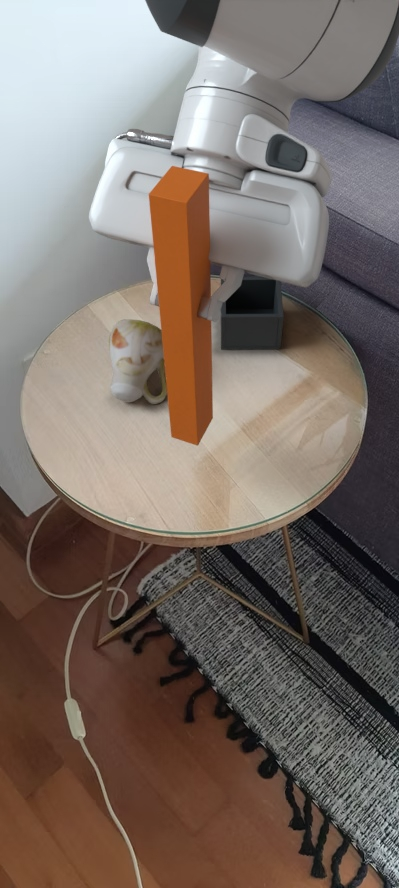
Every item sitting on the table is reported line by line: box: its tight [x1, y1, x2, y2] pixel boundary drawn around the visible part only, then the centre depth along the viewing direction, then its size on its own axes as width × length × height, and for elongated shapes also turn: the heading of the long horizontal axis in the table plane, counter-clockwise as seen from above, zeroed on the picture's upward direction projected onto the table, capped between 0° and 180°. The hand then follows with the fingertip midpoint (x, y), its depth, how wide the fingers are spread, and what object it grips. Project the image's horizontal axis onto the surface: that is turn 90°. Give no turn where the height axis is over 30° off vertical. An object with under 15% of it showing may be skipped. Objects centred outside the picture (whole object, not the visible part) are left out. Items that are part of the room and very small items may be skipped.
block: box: [149, 166, 214, 446], centre depth 61 cm, size 3×4×28 cm
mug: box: [108, 318, 168, 405], centre depth 85 cm, size 8×10×10 cm
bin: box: [220, 276, 285, 351], centre depth 89 cm, size 8×8×6 cm
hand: (183, 313), depth 59 cm, fingers closed on block, 3 cm apart
